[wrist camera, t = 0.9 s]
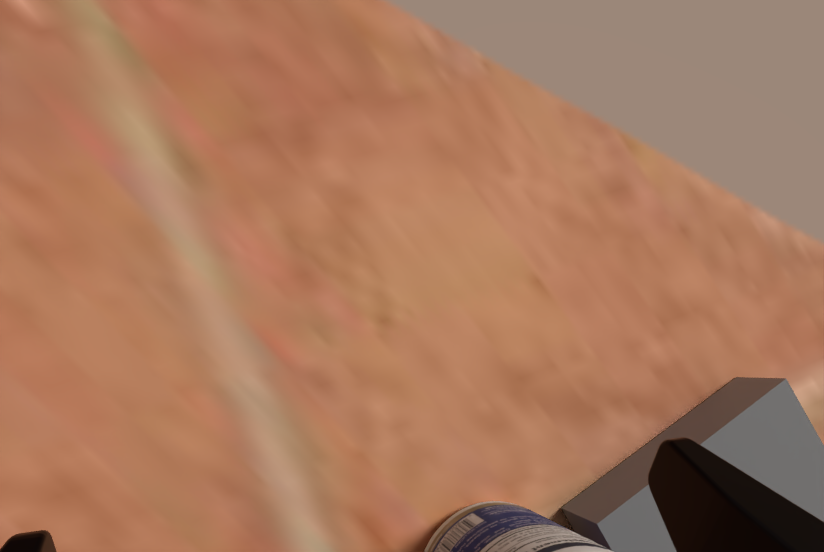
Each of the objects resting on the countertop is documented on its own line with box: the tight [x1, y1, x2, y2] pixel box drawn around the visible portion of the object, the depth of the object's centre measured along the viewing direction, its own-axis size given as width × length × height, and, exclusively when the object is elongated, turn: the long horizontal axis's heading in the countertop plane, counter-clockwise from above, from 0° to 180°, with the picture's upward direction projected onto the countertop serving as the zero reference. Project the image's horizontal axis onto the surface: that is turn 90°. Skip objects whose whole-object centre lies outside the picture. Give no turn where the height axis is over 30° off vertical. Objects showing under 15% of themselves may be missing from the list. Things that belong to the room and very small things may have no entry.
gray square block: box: [561, 377, 824, 552], centre depth 24 cm, size 9×9×2 cm
